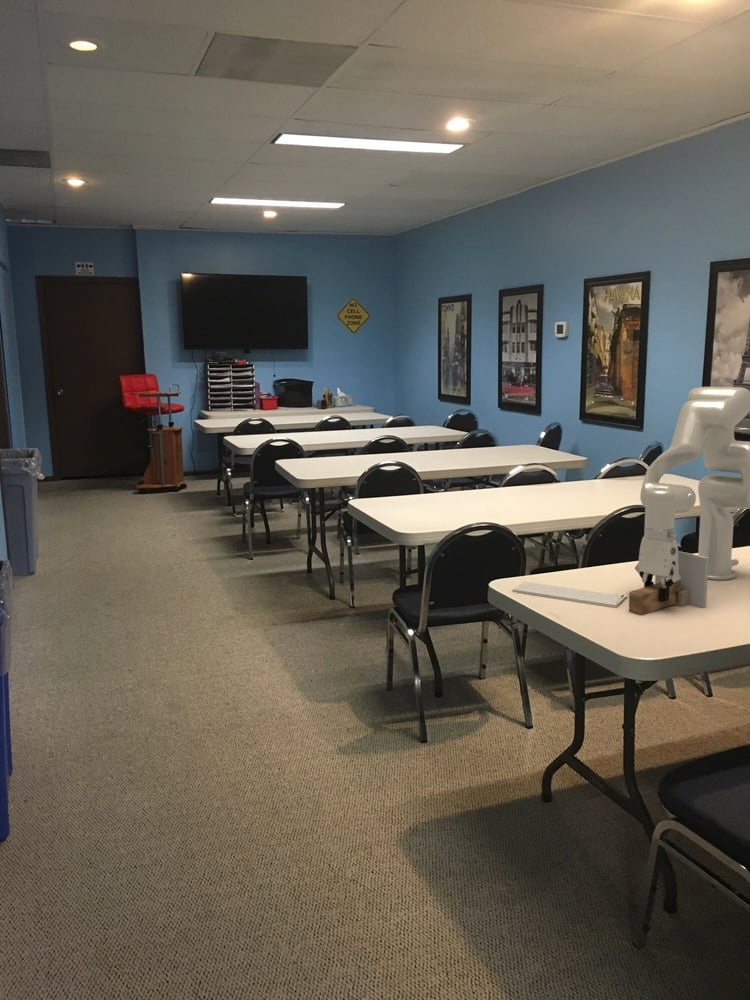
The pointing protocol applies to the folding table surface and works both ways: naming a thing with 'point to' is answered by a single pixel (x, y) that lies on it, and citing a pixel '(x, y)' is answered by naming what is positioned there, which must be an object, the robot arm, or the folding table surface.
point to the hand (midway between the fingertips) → (656, 598)
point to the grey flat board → (571, 594)
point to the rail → (651, 598)
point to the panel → (691, 579)
